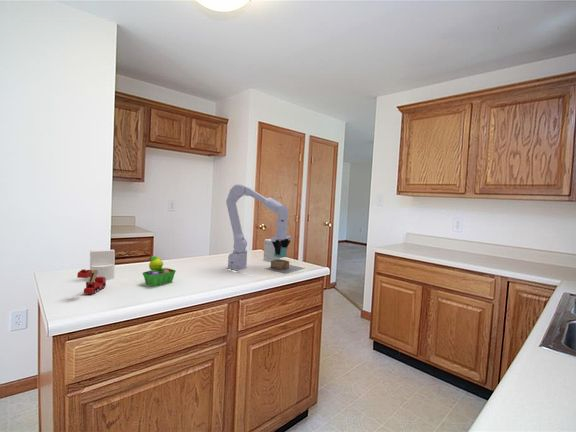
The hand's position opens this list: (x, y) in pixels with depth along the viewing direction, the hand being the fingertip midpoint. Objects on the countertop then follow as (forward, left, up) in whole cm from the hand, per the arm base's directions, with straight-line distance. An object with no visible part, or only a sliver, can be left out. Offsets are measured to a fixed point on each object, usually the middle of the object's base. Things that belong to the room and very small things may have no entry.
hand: (280, 253), depth 161 cm
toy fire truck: (-80, +25, -9) cm, 84 cm away
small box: (+12, +16, -9) cm, 22 cm away
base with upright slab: (-70, +42, -9) cm, 82 cm away
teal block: (0, 0, -2) cm, 2 cm away
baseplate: (+2, -2, -9) cm, 9 cm away
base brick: (0, 0, -8) cm, 8 cm away
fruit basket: (-57, +20, -9) cm, 61 cm away
